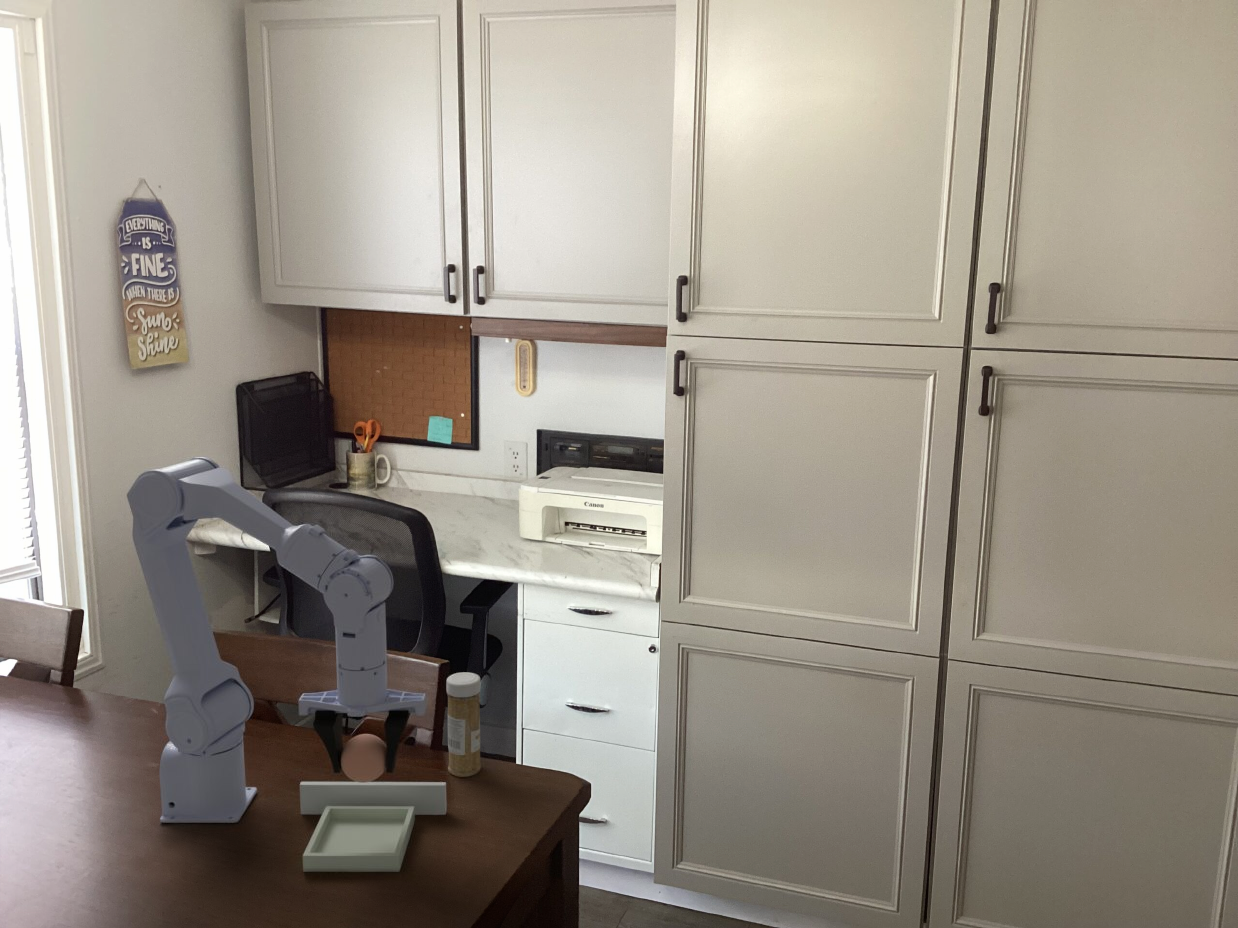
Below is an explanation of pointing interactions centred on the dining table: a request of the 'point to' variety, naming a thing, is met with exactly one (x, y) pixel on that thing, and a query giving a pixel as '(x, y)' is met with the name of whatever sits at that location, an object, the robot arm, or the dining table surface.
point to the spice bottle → (463, 723)
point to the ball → (364, 758)
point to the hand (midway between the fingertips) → (364, 768)
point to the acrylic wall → (374, 795)
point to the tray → (360, 839)
